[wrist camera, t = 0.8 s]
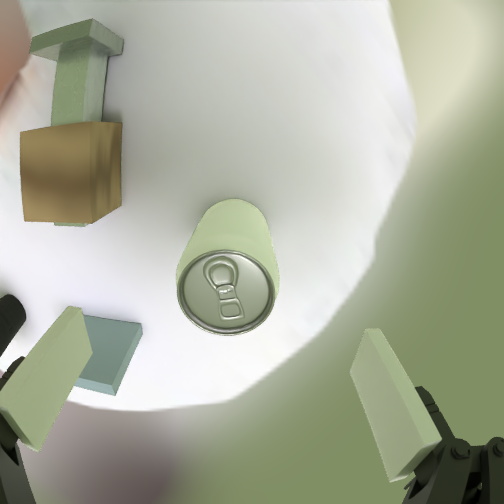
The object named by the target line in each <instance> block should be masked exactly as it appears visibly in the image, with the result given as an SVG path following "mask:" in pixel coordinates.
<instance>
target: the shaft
mask: <svg viewBox="0 0 504 504" xmlns="http://www.w3.org/2000/svg"><path fill="white" fill-rule="evenodd" d="M123 41H124V40H123V39H122V38H120V37H119V36H118V35H116V34H115V33H113V32H112V31H111V30H109V29H108V28H106V27H105V26H103V25H102V24H100V23H99V22H97V21H96V20H94V19H89V20H85V21H81V22H78V23H74V24H71V25H67V26H64V27H61V28H58V29H54V30H52V31H49V32H46V33H43V34H40V35H37V36H35V37H33V38H32V42H31V47H30V52H29V54H33V55H36V56H40V57H44V58H47V59H51V60H54V61H57V68H56V76H55V83H54V92H53V103H52V117H51V126H57V125H64V124H71V123H79V122H87V121H98V122H101V119H102V105H103V94H104V84H105V75H106V67H107V60H108V56H114V55H120V54H122V47H123ZM54 225H56V226H79V227H85V226H87V225H88V224H84V223H59V222H54Z"/></svg>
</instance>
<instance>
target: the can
mask: <svg viewBox="0 0 504 504" xmlns="http://www.w3.org/2000/svg"><path fill="white" fill-rule="evenodd" d="M176 286H177V297H178V302H179V305H180V307H181V309H182V311H183V313H184V314H185V315H186V317H187V318H188V319H189V320H190V321H191V322H192V323H193V324H194V325H196V326H197V327H199V328H201V329H202V330H204V331H207V332H209V333H212V334H217V335H224V336H232V335H239V334H243V333H246V332H249V331H251V330H253V329H255V328H256V327H258V326H259V325H261V324H262V323H263V322H264V321H265V320H266V319H267V317H268V316H269V314H270V313H271V311H272V309H273V306H274V302H275V299H276V297H277V294H278V290H279V271H278V266H277V261H276V257H275V253H274V248H273V244H272V240H271V236H270V232H269V228H268V225H267V222H266V220H265V218H264V216H263V214H262V213H261V212H260V211H259V209H257V208H256V207H255V206H254V205H252V204H250V203H248V202H246V201H243V200H239V199H228V200H224V201H221V202H219V203H217V204H215V205H213V206H212V207H210V208H209V209H208V210H207V211H206V213H205V214H204V215H203V217H202V219H201V220H200V222H199V224H198V226H197V227H196V229H195V231H194V233H193V235H192V237H191V239H190V241H189V243H188V244H187V246H186V248H185V250H184V252H183V254H182V256H181V259H180V261H179V264H178V267H177V272H176Z"/></svg>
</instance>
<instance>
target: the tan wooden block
mask: <svg viewBox="0 0 504 504" xmlns="http://www.w3.org/2000/svg"><path fill="white" fill-rule="evenodd" d="M121 139H122V123H113V122H98V121H87V122H79V123H71V124H64V125H57V126H51V127H45V128H39V129H34V130H28V131H23V132H20V175H21V192H22V204H23V214H24V221H28V222H59V223H84V224H93V223H94V222H96V221H97V220H99V219H101V218H102V217H104V216H105V215H107V214H109V213H110V212H112V211H113V210H115V209H117V208H118V207H120V206H121Z"/></svg>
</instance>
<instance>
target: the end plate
mask: <svg viewBox="0 0 504 504" xmlns="http://www.w3.org/2000/svg"><path fill="white" fill-rule="evenodd" d="M83 317H84V321H85V326H86V330H87V333H88V337H89V341H90V345H91V348H92V352H93V354H92V355H91V357H90V359H89V360H88V362H87V364H86V365H85V367H84V369H83V370H82V372H81V374H80V376H79V377H78V379H77V381H76V383H75V384H74V386H77V387H81V388H84V389H88V390H92V391H96V392H100V393H105V394H109V395H113V396H116V393H117V391H118V388H119V386H120V384H121V381H122V379H123V377H124V374H125V372H126V370H127V368H128V365H129V363H130V361H131V358H132V356H133V354H134V352H135V350H136V347H137V345H138V343H139V341H140V339H141V336H142V327H141V324H139V323H132V322H124V321H117V320H111V319H104V318H98V317H92V316H86V315H83Z"/></svg>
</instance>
